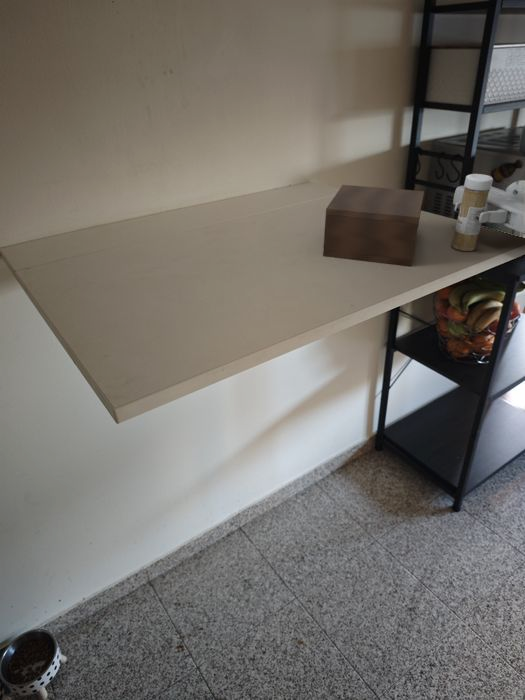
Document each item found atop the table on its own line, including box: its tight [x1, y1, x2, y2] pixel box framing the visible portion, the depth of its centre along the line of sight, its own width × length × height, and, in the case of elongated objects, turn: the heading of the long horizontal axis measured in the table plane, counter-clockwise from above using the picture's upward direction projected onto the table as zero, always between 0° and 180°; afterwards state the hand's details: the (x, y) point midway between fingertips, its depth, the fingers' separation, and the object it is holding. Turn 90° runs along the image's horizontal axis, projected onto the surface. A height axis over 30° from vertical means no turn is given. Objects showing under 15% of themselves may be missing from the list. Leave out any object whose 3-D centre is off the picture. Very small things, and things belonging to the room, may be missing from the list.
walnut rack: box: [322, 184, 425, 267], centre depth 95 cm, size 16×16×9 cm
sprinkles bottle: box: [450, 173, 494, 252], centre depth 92 cm, size 5×5×14 cm
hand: (467, 212), depth 92 cm, fingers closed on sprinkles bottle, 4 cm apart
